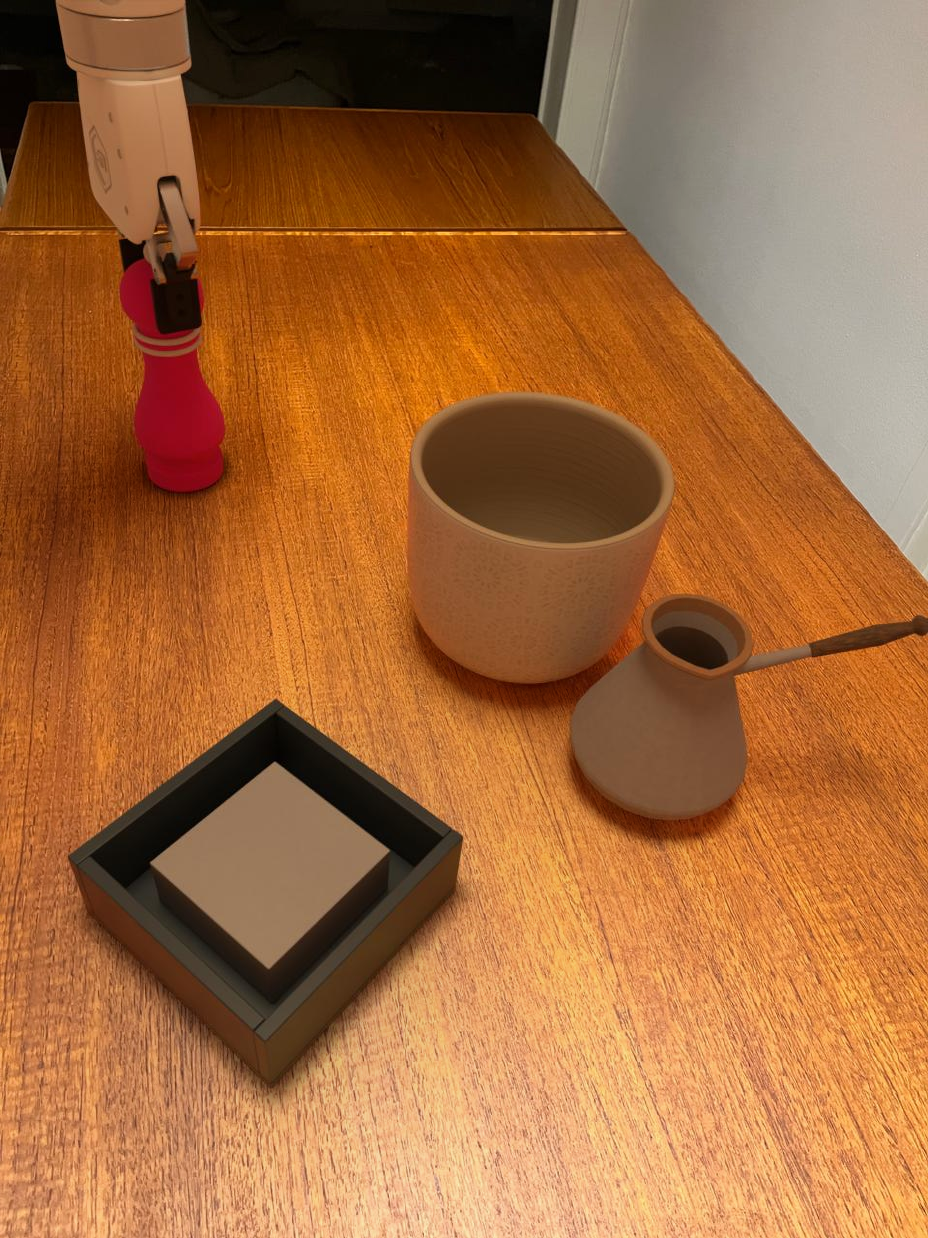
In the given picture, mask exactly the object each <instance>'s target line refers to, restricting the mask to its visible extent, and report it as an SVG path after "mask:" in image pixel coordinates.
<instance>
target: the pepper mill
mask: <svg viewBox="0 0 928 1238" xmlns="http://www.w3.org/2000/svg"><path fill="white" fill-rule="evenodd" d="M159 248H160V253H161V257H162V261H163V260H164V258H165V255H166V253H170V250H169V248H168V245H167V243H161V244H159ZM143 253H144V257H145V258H144V259H141V260H139V261H136V262H135V263H134V264H132V265H131V266H129V268H128V269H127V270H126V271H125V273H124V272H123V274H122V276H121V278H120V283H119V301H120V305H121V308H122V310H123V312H124V314H125V315H126V316H127V317H128V318H129V320H131V321H132V322H133V323H132V325H131V331H132V334H133V336H134V337H133V343H134V345H135V347H136V348H137V350H139V351H141V354H142V358H143V368H144V373H143V374H144V375H143V381H142V385H141V389H140V393H139V395H138V399H137V401H136V405H135V408H134V409H135V410H134V415H133V429H134V436H135V440H136V442H137V444H138V445H139V446H140V448H141V449H143V450H144V452H146V453H145V456H144V457H145V463H146V465H145V466H146V470H147V475H148V477H149V479H150V481H151V482H152V483H153V484H155V485H156V486H158V487H159V488H161V489H163V490H167V491H170V492H175V493H191V492H192V493H193V492H197V491H201V490H203V489H207V488H208V487H210V486H212V485H214V484H215V483H216V482H218V481H219V479H220V478H221V477H222V475H223V473H224V468H225V467H224V459H223V451H222V448H221V444H222V443H223V441H224V439H225V436H226V423H225V417H224V413H223V411H222V409H221V406H220V404H219V402H218V400H217V399H216V397H215V396H214V394H213V392H212V391H211V389H210V388H209V386H208V385H207V383H206V381H205V379H204V376H203V374H202V371H201V368H200V362H199V358H198V357H199V356H198V348H199V346H201V343H202V341H203V336H202V333H201V327H202V325H201V326H200V327H199V328H197V329H191V330H186V331H181V332H176V333H170V334H165V335H163V334H161V333H160V332H159V331H158V329H157V327H156V320H155V314H154V307H153V300H152V293H151V286H150V279H155V278H154V274H153V270H152V265H151V261H150V257H149V253H148V249H147V245H146V244H145V246H144V249H143ZM197 282H198V291H199V300H200V309H201V314H202V312H203V311H204V307H205V292H204V289H203V285H202V282H201V280H200V278H199V276H198V277H197Z"/></svg>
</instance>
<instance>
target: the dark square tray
mask: <svg viewBox="0 0 928 1238" xmlns="http://www.w3.org/2000/svg"><path fill="white" fill-rule="evenodd" d="M274 762H276V763H278V764H279V765H280V766H282V767H283V768H284V769H285V770H287V771H288V772H289V773H291V774H292V775H293V776H294V777H296V778H297V779H298V780H300V781H301V782H302V783H304V784H305V785H306V786H307V787H309V788H310V789H311V790H313V791H314V792H315V793H317V794H318V795H319V796H320V797H322V798H323V799H324V800H326V801H327V802H328V803H329V804H331V805H332V806H333V807H335V808H336V809H337V810H339V811H340V812H341V813H342V814H344V815H345V816H346V817H348V818H349V819H350V820H352V821H353V822H354V823H355V824H357V825H358V826H359V827H361V828H362V829H363V830H364V831H366V832H367V833H368V834H370V835H371V836H372V837H374V838H375V839H376V840H377V841H379V842H380V843H381V844H383V845H384V846H385V847H387V848H388V849H389V850H390V862H389V878H388V888H387V889H386V890H385V891H384V892H383V893H382V894H381V896H380V897H379V898H378V899H377V900H376V901H375V902H374V903H373V904H372V905H371V906H370V907H369V908H368V909H367V910H366V911H365V912H364V913H363V914H362V915H361V916H360V917H359V918H358V919H357V920H356V921H355V922H354V923H353V924H352V925H351V926H350V927H349V928H348V929H347V930H346V931H345V932H344V933H343V934H342V935H341V936H340V937H339V938H338V939H337V940H336V941H335V942H334V943H333V944H332V945H331V946H330V947H329V948H328V949H327V950H326V951H325V952H324V953H323V954H322V955H321V956H320V957H319V958H318V959H317V960H316V961H315V962H314V963H313V964H312V965H311V966H310V967H309V968H308V969H307V970H306V971H305V972H304V973H303V974H302V975H301V976H300V977H299V978H298V979H297V980H296V981H295V982H294V983H293V984H292V985H291V987H290V988H289V989H288V990H287V991H286V992H285V993H284V994H283V995H282V996H281V997H280V998H279V999H278V1000H277V1001H276V1002H275V1003H274V1004H272V1003H271V1002H269V1001H268V1000H267V999H266V998H265V997H264V996H263V995H262V994H261V993H260V992H259V991H257V990H256V989H255V988H254V987H253V986H252V985H251V984H250V983H249V982H248V981H246V980H245V979H244V978H243V977H242V976H241V975H240V974H239V973H238V972H237V971H236V970H234V969H233V968H232V967H231V966H230V965H229V964H228V963H227V962H226V961H225V960H224V959H222V958H221V957H220V956H219V955H218V954H217V953H216V952H215V951H214V950H213V949H212V948H210V947H209V946H208V945H207V944H206V943H205V942H204V941H203V940H202V939H201V938H199V937H198V936H197V935H196V934H195V933H194V932H193V931H192V930H191V929H190V928H189V927H187V926H186V925H185V924H184V923H183V922H182V921H181V920H180V919H179V918H178V917H177V916H175V915H174V914H173V913H172V912H171V911H170V910H169V909H168V908H167V907H166V906H164V905H163V904H162V903H161V902H160V900H159V896H158V892H157V888H156V885H155V881H154V877H153V873H152V869H151V865H150V862H151V861H153V860H154V859H155V858H156V857H158V856H159V855H160V854H161V853H162V852H164V851H165V850H166V849H167V848H169V847H170V846H171V845H172V844H174V843H175V842H176V841H177V840H178V839H180V838H181V837H182V836H183V835H185V834H186V833H187V832H188V831H190V830H191V829H192V828H193V827H195V826H196V825H197V824H198V823H199V822H201V821H202V820H203V819H204V818H206V817H207V816H208V815H209V814H211V813H212V812H213V811H214V810H216V809H217V808H218V807H219V806H220V805H222V804H223V803H224V802H225V801H227V800H228V799H229V798H230V797H232V796H233V795H234V794H235V793H237V792H238V791H239V790H240V789H241V788H243V787H244V786H245V785H246V784H248V783H249V782H250V781H251V780H253V779H254V778H255V777H256V776H258V775H259V774H260V773H261V772H262V771H264V770H265V769H266V768H267V767H269V766H270V765H271V764H272V763H274ZM463 842H464V836H463V835H462V834H461V833H460V832H458V831H457V830H455V829H454V828H453V827H451V826H450V825H449V824H447V823H446V822H444V821H443V820H442V819H440V818H439V817H437V816H436V815H435V814H433V812H431V811H429V809H427V808H425V807H424V806H423V805H421V803H419V802H417V801H416V800H415V799H413V798H412V797H410V796H409V795H408V794H406V793H405V792H404V791H403V790H400V789H399V788H398V787H397V786H396V785H394V784H393V783H392V782H390V781H389V780H387V779H386V778H385V777H383V776H381V775H380V774H379V773H378V772H376V771H375V770H374V769H372V768H371V767H369V766H368V764H365V763H364V762H363V761H362V760H360V759H359V758H357V757H356V756H355V755H353V754H352V753H350V752H349V751H348V750H347V749H345V748H344V747H342V746H341V745H340V744H338V743H337V742H336V741H334V740H333V739H331V738H330V737H329V736H327V735H326V734H325V733H323V732H322V731H321V730H319V729H318V728H317V727H315V726H314V725H313V724H311V723H310V722H308V721H307V720H306V719H304V718H303V717H301V716H300V715H299V714H297V713H296V712H294V710H292V709H291V708H289V707H288V706H287V705H285V704H284V703H282V702H281V701H280V700H279V699H277V698H274V699H273V700H272V701H270V702H269V703H267V704H266V705H265V706H263V707H262V708H261V709H260V710H258V711H257V712H256V713H255V714H253V715H252V716H250V717H249V718H248V719H246V720H245V721H244V722H242V723H241V724H240V725H238V726H237V727H236V728H234V729H233V730H232V731H231V732H229V733H228V734H226V736H224V737H223V738H221V739H220V740H219V741H217V742H216V743H215V744H213V745H212V746H211V747H210V748H208V749H207V750H205V751H204V752H203V753H202V754H200V755H198V757H196V758H195V759H194V760H193V761H190V763H188V764H187V765H186V766H185V767H183V768H182V769H180V770H179V771H178V772H177V773H175V774H173V775H172V776H171V777H170V778H168V779H167V780H166V781H164V783H162V784H161V785H159V786H158V787H157V788H156V789H154V790H152V792H150V793H149V794H148V795H146V796H145V797H144V798H142V799H140V801H139V802H137V803H136V804H134V805H133V806H131V808H129V809H128V810H127V811H125V812H124V813H122V814H121V815H120V816H118V817H117V818H116V819H115V820H113V821H112V822H111V823H109V824H107V826H105V827H104V828H103V829H102V830H100V831H99V832H97V833H96V834H95V835H93V836H92V837H91V838H90V839H87V841H86V842H84V843H83V844H82V845H80V846H78V848H76V849H75V850H74V851H72V852H71V853H70V854H69V855H67V860H68V862H69V865H70V867H71V870H72V873H73V876H74V878H75V882H76V884H77V887H78V890H79V892H80V895H81V898H82V900H83V903H84V906H85V909H86V912H87V913H88V914H89V915H90V916H92V918H94V919H95V920H96V922H98V923H99V924H100V925H101V926H102V927H103V928H104V929H105V930H106V931H107V932H108V933H109V934H110V935H111V936H113V938H115V940H117V942H119V943H120V944H121V945H122V946H123V948H125V949H126V950H127V951H128V952H129V953H130V954H131V955H132V956H133V957H134V958H135V959H136V960H137V961H138V962H139V963H140V964H141V965H142V966H144V967H145V968H146V969H147V970H148V972H150V973H151V974H152V976H154V977H155V978H156V979H157V980H158V981H159V982H160V983H161V984H162V985H163V986H164V987H165V988H166V989H168V991H170V992H171V994H173V996H175V997H176V999H178V1000H179V1002H181V1003H182V1005H184V1006H185V1007H186V1008H187V1009H188V1010H189V1011H190V1012H191V1013H192V1014H193V1015H194V1016H196V1018H198V1020H199V1021H200V1022H202V1023H203V1024H204V1025H205V1026H206V1027H207V1028H208V1029H209V1030H210V1031H211V1032H212V1033H213V1034H214V1035H215V1036H216V1037H217V1038H218V1039H219V1040H220V1041H221V1042H222V1043H223V1044H224V1045H225V1046H227V1048H228V1049H230V1051H231V1052H233V1053H234V1054H235V1055H236V1056H237V1057H238V1058H239V1059H240V1060H241V1061H242V1062H243V1063H244V1064H245V1065H246V1066H247V1067H248V1068H249V1069H250V1070H251V1071H252V1072H253V1073H254V1074H255V1075H257V1076H258V1077H259V1078H260V1079H261V1080H262V1082H264V1083H265V1084H266V1085H267V1086H268V1087H269V1088H271V1089H272V1088H274V1086H276V1084H277V1083H278V1082H279V1081H280V1080H281V1079H282V1078H283V1077H284V1075H286V1074H287V1072H288V1071H289V1070H290V1069H291V1068H292V1067H293V1066H294V1065H295V1063H297V1062H298V1060H299V1059H300V1058H301V1057H302V1056H303V1055H304V1054H305V1053H306V1052H307V1051H308V1050H309V1049H310V1047H312V1045H313V1044H314V1043H315V1042H316V1041H317V1040H318V1039H319V1038H320V1037H321V1035H322V1034H323V1033H324V1032H325V1031H326V1030H327V1029H328V1028H329V1027H330V1026H331V1025H332V1024H333V1022H335V1020H336V1019H337V1018H338V1017H340V1015H341V1014H342V1013H343V1012H344V1011H345V1009H347V1008H348V1006H350V1005H351V1003H352V1002H353V1001H354V1000H355V999H356V998H357V996H359V995H360V993H361V992H362V991H363V990H364V989H365V988H366V987H367V986H368V985H369V983H371V982H372V981H373V980H374V978H376V976H377V975H378V974H379V973H380V972H381V971H382V970H383V969H384V968H385V967H386V965H387V964H388V963H389V962H390V961H391V960H392V959H393V958H394V957H395V956H396V955H397V954H398V952H400V950H401V949H402V948H403V947H404V946H405V945H406V944H407V943H408V941H410V940H411V938H413V936H414V935H415V934H416V933H417V932H418V931H419V930H420V929H421V927H423V925H425V923H426V922H427V921H428V920H429V919H430V918H431V917H432V916H433V915H434V914H435V913H436V912H437V910H438V909H439V908H440V907H441V906H442V905H443V904H444V903H445V902H446V900H447V899H448V898H449V897H450V896H451V895H452V894H453V893H454V892H455V891H456V889H457V881H458V875H459V873H458V872H459V869H460V864H461V863H460V862H461V857H462V850H463Z"/></svg>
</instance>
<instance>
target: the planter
mask: <svg viewBox="0 0 928 1238" xmlns="http://www.w3.org/2000/svg"><path fill="white" fill-rule="evenodd" d="M674 475H675V474H674V471H673V468H672V465H671V463H670V461H669V459H668V457H667V455H666V454H665V452H664V451H663V450H662V448H661V447H660V446H659V444H657V442H656V441H655V440H654V439H653V438H652V437H651V436H650V435H649V434H648V433H646V432H645V431H644V430H642V428H640V427H639V426H637V425H636V424H634V423H633V422H631V421H630V420H628V419H627V418H625V417H623V416H621V415H620V414H617V413H615V412H614V411H611V410H609V409H606V408H604V407H602V406H599V405H597V404H594V403H591V402H587V401H585V400H581V399H578V398H575V397H570V396H565V395H560V394H555V393H547V392H537V391H503V392H502V391H501V392H492V393H486V394H485V393H484V394H481V395H476V396H472V397H468V398H465V399H462V400H459V401H456V402H454V403H452V404H450V405H448V406H445V407H444V408H442V409H440V410H439V411H437V412H436V413H434V414H433V415H432V416H430V417H429V418H428V419H427V420H426V421H425V422H424V423H423V424H422V425H421V426H420V427H419V429H418V431H417V432H416V434H415V436H414V438H413V440H412V441H411V446H410V452H409V463H408V482H407V483H408V484H407V485H408V486H407V525H406V526H407V527H406V528H407V530H406V564H407V567H406V569H407V578H408V579H407V580H408V587H409V594H410V597H411V598H410V600H411V603H412V607H413V609H414V612H415V615H416V618H417V620H418V622H419V624H420V626H421V627H422V629H423V631H424V632H425V634H426V635H427V637H428V638H429V640H431V642H432V643H433V644H434V645H435V646H436V647H437V648H438V649H439V650H440V651H441V652H442V653H443V654H444V655H446V657H448V658H450V660H452V661H454V662H455V663H457V664H458V665H459V666H462V667H463V668H465V669H467V670H469V671H471V672H473V673H475V674H478V675H480V676H482V677H486V678H489V679H492V680H496V681H501V682H505V683H506V682H507V683H513V684H541V683H543V684H544V683H549V682H555V681H558V680H564V679H567V678H570V677H572V676H575V675H577V674H579V673H581V672H583V671H585V670H587V669H589V668H590V667H592V666H593V665H595V664H596V663H598V662H599V661H600V660H601V659H603V658H604V657H605V656H606V655H607V654H608V653H609V652H611V650H612V649H613V648H614V647H615V646H616V644H618V642H619V640H620V639H621V637H622V636H623V635H624V633H625V631H626V630H627V627H628V625H629V623H630V621H631V620H632V618H633V615H634V614H635V611H636V609H637V606H638V604H639V601H640V599H641V597H642V594H643V591H644V589H645V586H646V583H647V580H648V578H649V575H650V571H651V568H652V565H653V562H654V559H655V555H656V554H657V550H658V547H659V545H660V541H661V539H662V535H663V532H664V530H665V527H666V523H667V521H668V518H669V515H670V511H671V507H672V504H673V500H674V497H675V496H674V495H675V488H676V481H675V476H674Z"/></svg>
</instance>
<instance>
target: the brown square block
mask: <svg viewBox="0 0 928 1238" xmlns="http://www.w3.org/2000/svg"><path fill="white" fill-rule="evenodd" d="M389 862H390V850H389V849H388V848H387V847H385V846H384V845H383V844H381V843H380V842H379V841H377V840H376V839H375V838H374V837H372V836H371V835H370V834H368V833H367V832H366V831H364V830H363V829H362V828H361V827H359V826H358V825H357V824H355V823H354V822H353V821H352V820H350V819H349V818H348V817H346V816H345V815H344V814H342V813H341V812H340V811H339V810H337V809H336V808H335V807H333V806H332V805H331V804H329V803H328V802H327V801H326V800H324V799H323V798H322V797H320V796H319V795H318V794H317V793H315V792H314V791H313V790H311V789H310V788H309V787H307V786H306V785H305V784H304V783H302V782H301V781H300V780H298V779H297V778H296V777H294V776H293V775H292V774H291V773H289V772H288V771H287V770H285V769H284V768H283V767H282V766H280V765H279V764H278V763H276V762H274V763H272V764H271V765H270V766H269V767H267V768H266V769H265V770H264V771H262V772H261V773H260V774H259V775H258V776H256V777H255V778H254V779H253V780H251V781H250V782H249V783H248V784H246V785H245V786H244V787H243V788H241V789H240V790H239V791H238V792H237V793H235V794H234V795H233V796H232V797H230V798H229V799H228V800H227V801H225V802H224V803H223V804H222V805H220V806H219V807H218V808H217V809H216V810H214V811H213V812H212V813H211V814H209V815H208V816H207V817H206V818H204V819H203V820H202V821H201V822H199V823H198V824H197V825H196V826H195V827H193V828H192V829H191V830H190V831H188V832H187V833H186V834H185V835H183V836H182V837H181V838H180V839H178V840H177V841H176V842H175V843H174V844H172V845H171V846H170V847H169V848H167V849H166V850H165V851H164V852H162V853H161V854H160V855H159V856H158V857H156V858H155V859H154V860H153V861H151V862H150V865H151V869H152V873H153V877H154V881H155V885H156V888H157V892H158V896H159V900H160V902H161V903H162V904H163V905H164V906H166V907H167V908H168V909H169V910H170V911H171V912H172V913H173V914H174V915H175V916H177V917H178V918H179V919H180V920H181V921H182V922H183V923H184V924H185V925H186V926H187V927H189V928H190V929H191V930H192V931H193V932H194V933H195V934H196V935H197V936H198V937H199V938H201V939H202V940H203V941H204V942H205V943H206V944H207V945H208V946H209V947H210V948H212V949H213V950H214V951H215V952H216V953H217V954H218V955H219V956H220V957H221V958H222V959H224V960H225V961H226V962H227V963H228V964H229V965H230V966H231V967H232V968H233V969H234V970H236V971H237V972H238V973H239V974H240V975H241V976H242V977H243V978H244V979H245V980H246V981H248V982H249V983H250V984H251V985H252V986H253V987H254V988H255V989H256V990H257V991H259V992H260V993H261V994H262V995H263V996H264V997H265V998H266V999H267V1000H268V1001H269V1002H271V1003H272V1004H274V1003H275V1002H276V1001H277V1000H278V999H279V998H280V997H281V996H282V995H283V994H284V993H285V992H286V991H287V990H288V989H289V988H290V987H291V985H292V984H293V983H294V982H295V981H296V980H297V979H298V978H299V977H300V976H301V975H302V974H303V973H304V972H305V971H306V970H307V969H308V968H309V967H310V966H311V965H312V964H313V963H314V962H315V961H316V960H317V959H318V958H319V957H320V956H321V955H322V954H323V953H324V952H325V951H326V950H327V949H328V948H329V947H330V946H331V945H332V944H333V943H334V942H335V941H336V940H337V939H338V938H339V937H340V936H341V935H342V934H343V933H344V932H345V931H346V930H347V929H348V928H349V927H350V926H351V925H352V924H353V923H354V922H355V921H356V920H357V919H358V918H359V917H360V916H361V915H362V914H363V913H364V912H365V911H366V910H367V909H368V908H369V907H370V906H371V905H372V904H373V903H374V902H375V901H376V900H377V899H378V898H379V897H380V896H381V894H382V893H383V892H384V891H385V890H386V889H387V888H388V878H389Z"/></svg>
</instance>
